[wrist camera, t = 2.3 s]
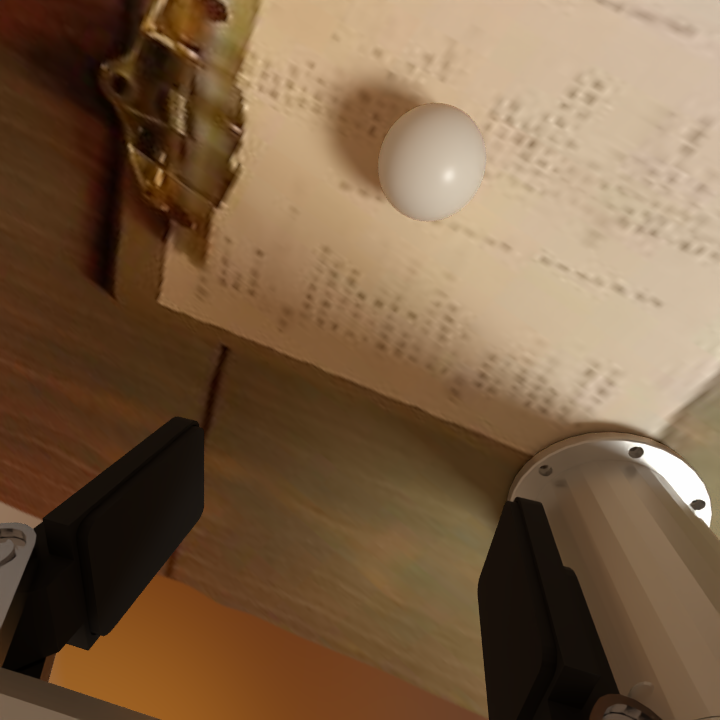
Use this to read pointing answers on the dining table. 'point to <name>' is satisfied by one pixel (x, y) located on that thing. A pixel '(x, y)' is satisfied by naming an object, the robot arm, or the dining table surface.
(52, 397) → the dining table surface
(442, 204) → the cue ball
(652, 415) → the dining table surface
